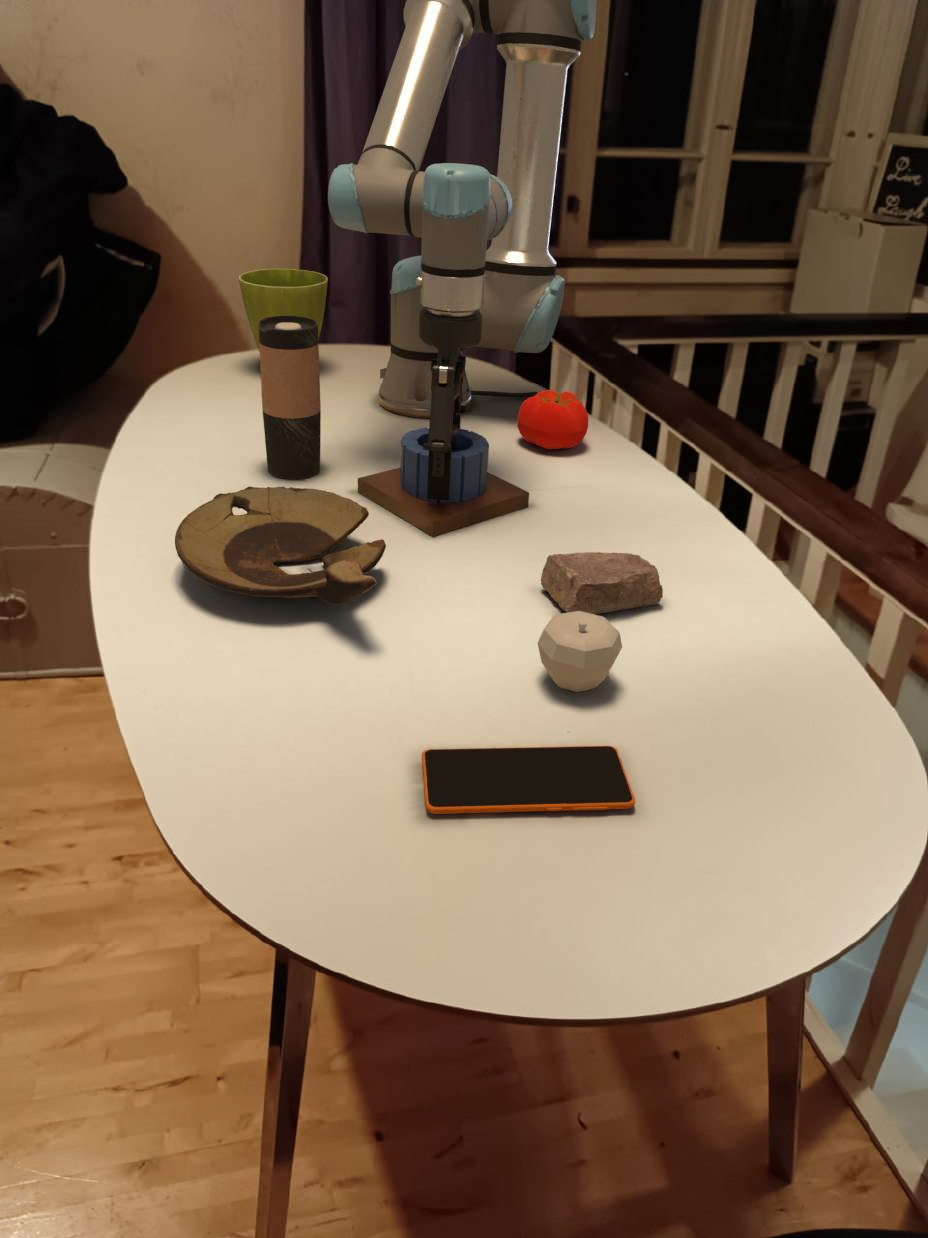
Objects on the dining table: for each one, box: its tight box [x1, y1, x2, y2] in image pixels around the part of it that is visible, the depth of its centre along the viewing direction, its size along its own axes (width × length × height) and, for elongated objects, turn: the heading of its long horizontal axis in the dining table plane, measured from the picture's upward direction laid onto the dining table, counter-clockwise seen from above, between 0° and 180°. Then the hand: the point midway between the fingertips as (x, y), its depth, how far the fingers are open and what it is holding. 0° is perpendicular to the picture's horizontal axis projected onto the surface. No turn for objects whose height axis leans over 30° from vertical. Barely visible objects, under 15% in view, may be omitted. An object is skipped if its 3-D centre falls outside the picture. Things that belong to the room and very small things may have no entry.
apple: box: [537, 611, 623, 693], centre depth 89 cm, size 8×8×7 cm
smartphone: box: [421, 745, 636, 815], centre depth 78 cm, size 8×17×1 cm, turn 95°
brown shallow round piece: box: [174, 486, 387, 606], centre depth 103 cm, size 22×30×8 cm
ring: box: [400, 427, 490, 503], centre depth 123 cm, size 11×11×6 cm
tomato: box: [516, 389, 589, 451], centre depth 144 cm, size 11×11×8 cm
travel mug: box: [258, 315, 322, 481], centre depth 126 cm, size 8×8×20 cm
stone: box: [540, 551, 664, 615], centre depth 104 cm, size 12×9×5 cm
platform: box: [357, 424, 530, 537], centre depth 123 cm, size 16×16×10 cm
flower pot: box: [238, 268, 329, 353], centre depth 166 cm, size 15×15×16 cm
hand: (443, 479), depth 124 cm, fingers open, 12 cm apart
